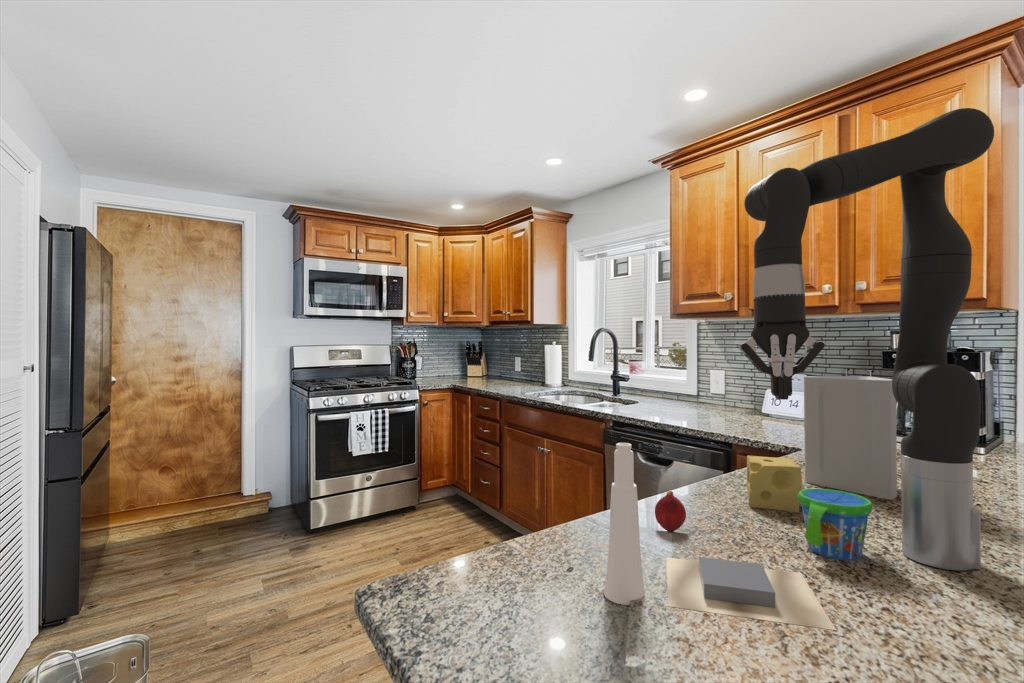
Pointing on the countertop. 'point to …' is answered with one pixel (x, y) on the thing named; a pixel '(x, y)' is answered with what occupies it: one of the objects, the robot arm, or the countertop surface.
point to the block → (736, 582)
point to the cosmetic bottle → (624, 533)
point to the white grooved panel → (851, 434)
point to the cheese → (773, 483)
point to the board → (790, 604)
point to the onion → (670, 512)
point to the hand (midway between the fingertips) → (781, 398)
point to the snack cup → (835, 522)
